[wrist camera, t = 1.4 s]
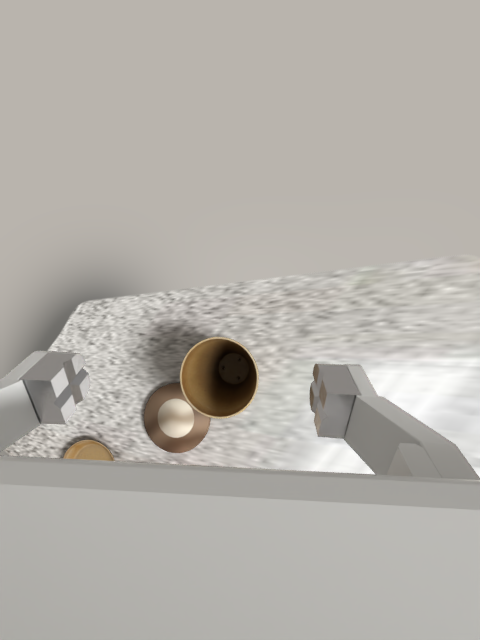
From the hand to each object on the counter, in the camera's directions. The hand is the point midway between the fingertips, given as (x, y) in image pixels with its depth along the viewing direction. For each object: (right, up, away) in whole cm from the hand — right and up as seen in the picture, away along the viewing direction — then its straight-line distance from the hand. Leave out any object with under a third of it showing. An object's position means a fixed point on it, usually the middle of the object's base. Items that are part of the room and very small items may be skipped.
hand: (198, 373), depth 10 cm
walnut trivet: (-13, -21, +61) cm, 66 cm away
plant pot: (0, -10, +60) cm, 60 cm away
